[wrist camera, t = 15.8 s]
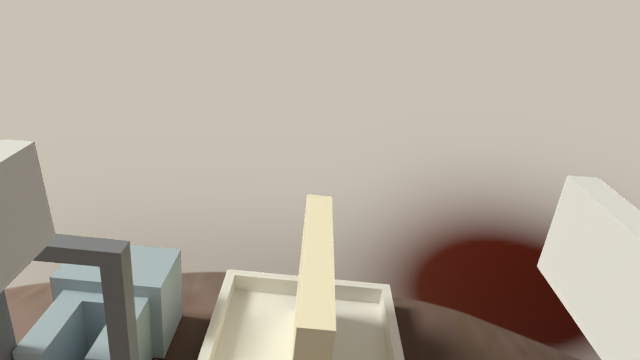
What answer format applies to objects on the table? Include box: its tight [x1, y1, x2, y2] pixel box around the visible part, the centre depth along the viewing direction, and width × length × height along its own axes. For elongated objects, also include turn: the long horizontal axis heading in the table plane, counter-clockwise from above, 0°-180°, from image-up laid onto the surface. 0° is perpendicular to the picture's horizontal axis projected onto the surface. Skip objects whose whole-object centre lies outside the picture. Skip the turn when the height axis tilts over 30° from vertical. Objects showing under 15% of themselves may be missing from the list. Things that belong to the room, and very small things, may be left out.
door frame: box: [0, 234, 182, 360], centre depth 32 cm, size 9×12×14 cm
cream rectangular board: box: [290, 194, 336, 360], centre depth 32 cm, size 2×15×12 cm, turn 179°
